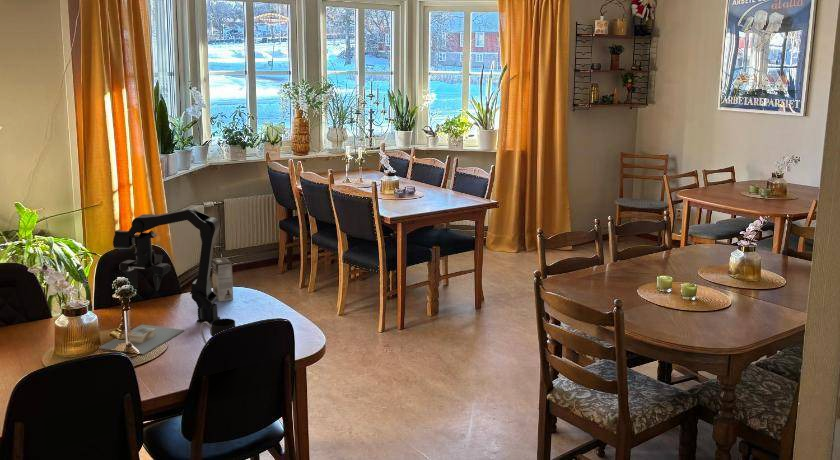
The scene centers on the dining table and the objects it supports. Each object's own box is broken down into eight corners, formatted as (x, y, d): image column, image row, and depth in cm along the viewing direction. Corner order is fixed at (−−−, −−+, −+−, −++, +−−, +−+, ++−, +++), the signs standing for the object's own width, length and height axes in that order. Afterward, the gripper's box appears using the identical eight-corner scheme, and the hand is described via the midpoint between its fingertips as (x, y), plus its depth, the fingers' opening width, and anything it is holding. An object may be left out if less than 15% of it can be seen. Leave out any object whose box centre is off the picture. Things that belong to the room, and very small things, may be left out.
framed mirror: (142, 343, 270) (141, 335, 269) (129, 341, 271) (129, 334, 270) (155, 335, 277) (155, 328, 277) (143, 333, 278) (142, 326, 278)
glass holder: (226, 373, 246) (223, 328, 243) (193, 364, 253) (190, 321, 250) (244, 364, 254) (242, 320, 250) (212, 355, 261) (210, 313, 257)
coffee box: (212, 295, 323) (210, 258, 320) (227, 293, 327) (225, 256, 323) (218, 302, 316) (216, 264, 312) (234, 299, 319) (232, 262, 315)
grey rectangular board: (184, 331, 283) (184, 329, 283) (143, 355, 260) (143, 353, 260) (141, 325, 288) (141, 324, 288) (98, 348, 265) (98, 347, 265)
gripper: (178, 245, 293) (180, 285, 297) (135, 242, 299) (138, 280, 302) (160, 252, 283) (163, 293, 287) (116, 248, 288) (120, 289, 292)
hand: (146, 289), depth 292 cm, fingers open, 9 cm apart
